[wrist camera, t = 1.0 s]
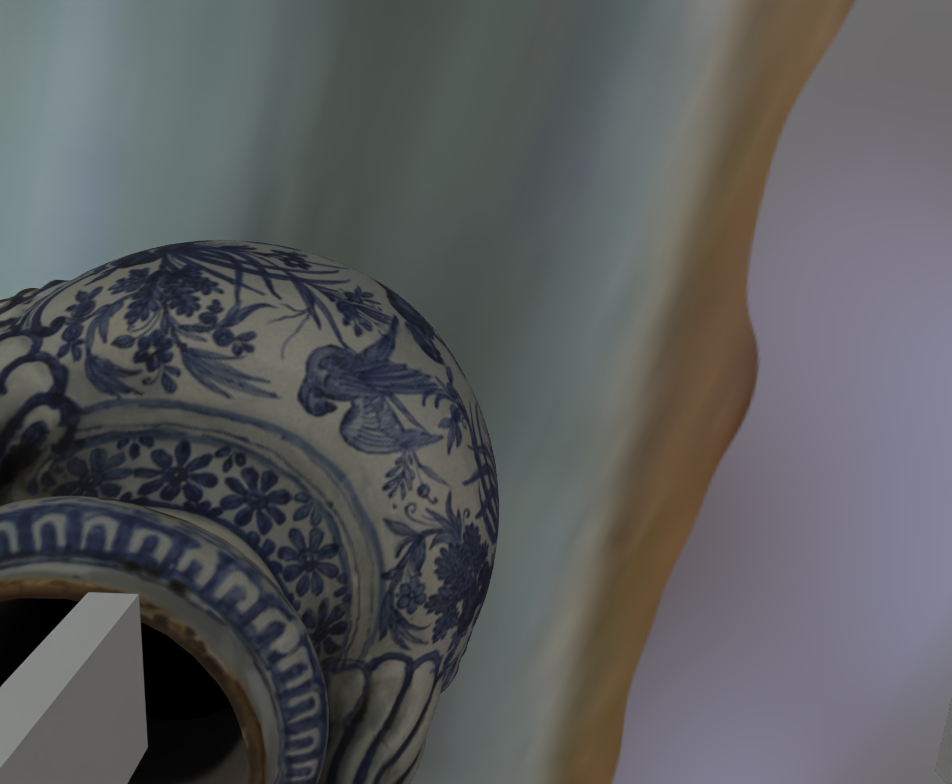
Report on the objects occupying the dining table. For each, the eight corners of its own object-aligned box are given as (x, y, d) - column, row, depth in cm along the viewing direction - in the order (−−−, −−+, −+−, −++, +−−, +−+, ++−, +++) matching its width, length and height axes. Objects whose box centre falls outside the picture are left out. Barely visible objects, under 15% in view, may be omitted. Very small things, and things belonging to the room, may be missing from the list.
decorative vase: (40, 392, 41) (-758, 772, 14) (268, 128, 38) (-167, -54, 11) (344, 634, 45) (193, 1293, 18) (568, 411, 42) (793, 788, 15)
